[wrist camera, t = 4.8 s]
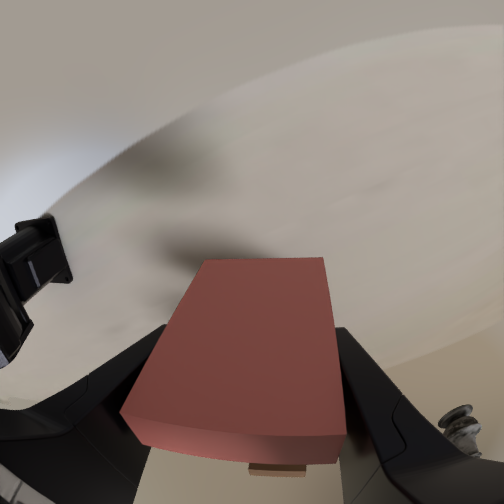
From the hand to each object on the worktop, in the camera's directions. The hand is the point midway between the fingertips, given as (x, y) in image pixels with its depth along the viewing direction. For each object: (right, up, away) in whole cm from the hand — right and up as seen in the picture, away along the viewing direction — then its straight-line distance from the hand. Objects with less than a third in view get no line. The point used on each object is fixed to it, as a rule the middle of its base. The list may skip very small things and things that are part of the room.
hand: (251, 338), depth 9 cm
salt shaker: (+27, -19, +18) cm, 37 cm away
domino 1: (+1, +2, +4) cm, 4 cm away
